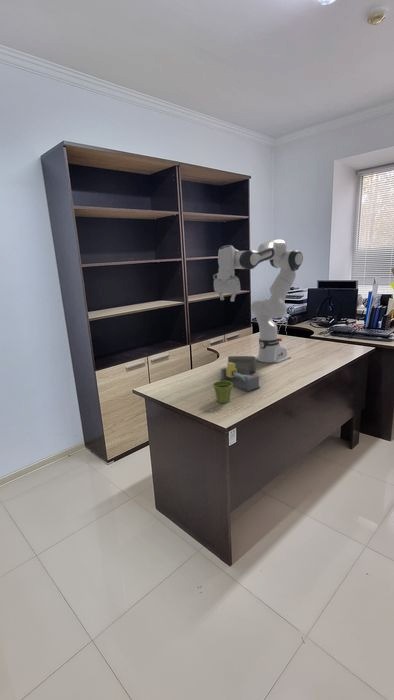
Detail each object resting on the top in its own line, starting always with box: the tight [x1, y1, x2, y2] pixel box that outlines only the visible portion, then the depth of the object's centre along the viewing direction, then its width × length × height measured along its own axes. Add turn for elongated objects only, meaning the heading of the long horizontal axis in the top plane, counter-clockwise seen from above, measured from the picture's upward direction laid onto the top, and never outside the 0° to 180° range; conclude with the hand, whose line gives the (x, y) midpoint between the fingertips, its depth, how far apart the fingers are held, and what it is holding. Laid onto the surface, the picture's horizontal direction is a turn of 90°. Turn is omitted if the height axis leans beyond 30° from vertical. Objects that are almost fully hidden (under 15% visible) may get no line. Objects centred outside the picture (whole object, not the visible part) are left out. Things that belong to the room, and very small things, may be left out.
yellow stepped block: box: [225, 362, 237, 378], centre depth 191 cm, size 4×4×7 cm
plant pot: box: [212, 380, 233, 404], centre depth 166 cm, size 9×9×9 cm
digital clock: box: [227, 355, 257, 375], centre depth 203 cm, size 16×9×11 cm, turn 66°
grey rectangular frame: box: [219, 367, 261, 393], centre depth 186 cm, size 23×9×6 cm, turn 33°
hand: (227, 300), depth 196 cm, fingers open, 8 cm apart
